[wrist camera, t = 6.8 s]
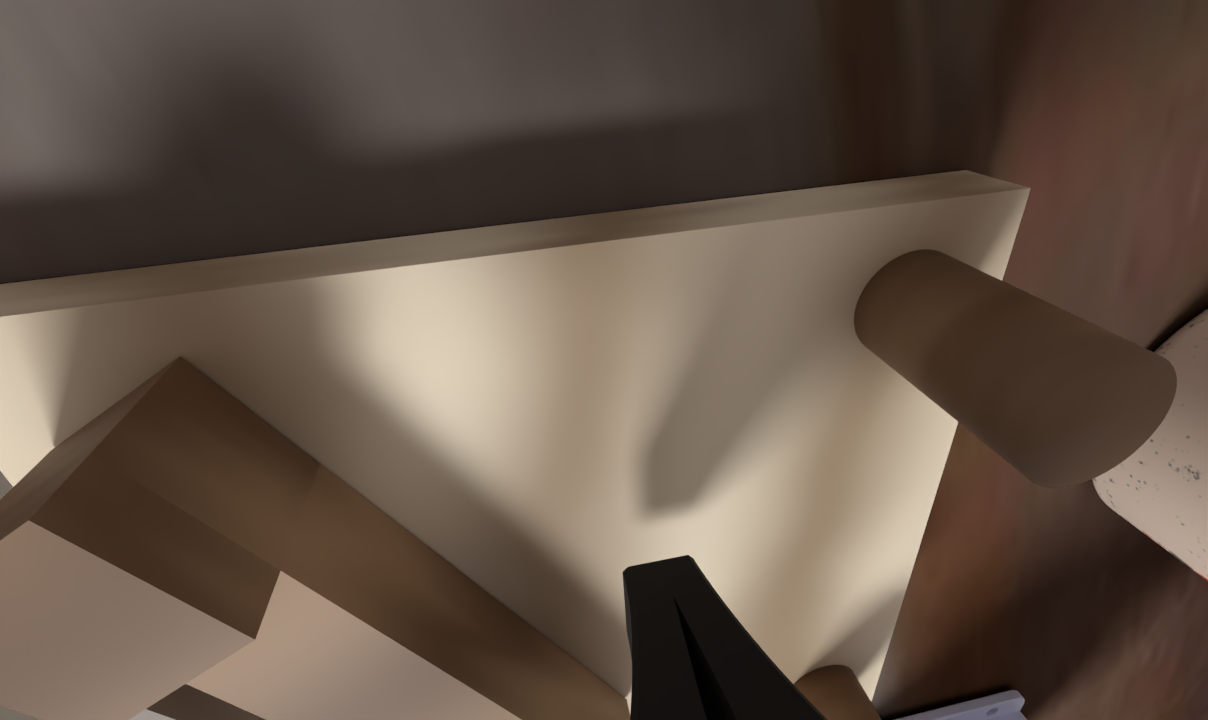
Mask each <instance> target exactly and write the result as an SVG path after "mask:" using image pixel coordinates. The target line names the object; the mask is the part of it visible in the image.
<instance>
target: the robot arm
mask: <svg viewBox="0 0 1208 720" xmlns="http://www.w3.org/2000/svg"><path fill="white" fill-rule="evenodd" d="M623 586H624V600H625V615H626V629H627V635H628V640H629V646H630V652H631V659H632V694H631V712H630V720H827V719H826V718H825V717H824V716H823V715H822V714H821V713H820V712H819V711H818V710H817V709H816V707H815V706H814V705H813V704H812V703H811V702H810V701H809V700H808V699H807V698H806V697H805V696H804V695H803V694H802V693H801V692H800V691H799V690H798V689H797V687H796V686H795V685H794V684H793V683H792V682H791V681H790V680H789V679H788V678H787V677H786V676H785V675H784V673H783V672H782V671H781V670H780V669H779V668H778V667H777V666H776V664H775V663H774V662H773V661H772V660H771V659H770V658H769V657H768V655H767V654H766V653H765V652H764V651H763V649H762V648H761V647H760V646H759V645H758V643H757V642H756V641H755V640H754V639H753V638H752V636H751V635H750V634H749V633H748V632H747V630H746V629H745V628H744V627H743V626H742V624H741V623H740V622H739V621H738V619H737V618H736V617H735V616H734V614H733V613H732V612H731V610H730V609H729V608H728V606H727V605H726V604H725V603H724V601H723V600H722V599H721V597H720V596H719V595H718V593H717V592H716V591H715V589H714V588H713V586H712V585H711V584H710V582H709V581H708V579H707V578H706V577H705V575H704V574H703V572H702V571H701V569H700V568H699V566H698V565H697V563H696V562H695V560H694V558H692V557H691V556H689V555H685V556H680V557H675V558H670V559H664V560H659V561H654V562H649V563H644V564H639V565H634V566H629V567H627V568H626V569H625V570H624V571H623ZM1024 702H1025V699H1024V698H1023V697H1022V696H1021V694H1020V693H1019V692H1018V691H1016V690H1009V691H1005V692H1001V693H997V694H993V695H989V696H985V697H981V698H977V699H973V700H969V701H965V702H961V703H957V704H953V705H950V706H946V707H942V708H938V709H934V710H930V711H926V712H922V713H918V714H914V715H910V716H906V717H902V718H898V719H894V720H1027V719H1026V718H1025V717H1024V715H1023V714H1022V713H1021V712H1020V710H1021V708H1022V706H1023V704H1024Z"/></svg>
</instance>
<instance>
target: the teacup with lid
mask: <svg viewBox="0 0 1208 720" xmlns="http://www.w3.org/2000/svg"><path fill="white" fill-rule="evenodd" d="M1154 353H1156V354H1158V355H1160V356H1162V357H1164V358H1166V359H1167V360H1168V361H1169V362H1170V363H1171V364H1172V365H1173V367H1174V369H1175V372H1176V376H1177V388H1176V393H1175V397H1174V400H1173V403H1172V405H1171V407H1170V409H1169V411H1168V413H1167V415H1166V416H1165V418H1164V420H1163V421H1162V423H1161V424H1160V425H1159V427H1158V428H1157V429H1156V431H1155V432H1154V433H1153V434H1152V435H1151V437H1150V438H1149V439H1148V440H1147V441H1146V442H1145V443H1144V444H1143V445H1142V446H1141V447H1140V448H1139V449H1138V450H1136V451H1135V452H1134V453H1133V454H1132V455H1131V456H1129V457H1128V458H1127V459H1126V460H1124V461H1123V462H1121V463H1120V464H1118V465H1117V466H1116V467H1114V468H1112V469H1111V470H1109V471H1107V472H1106V473H1104V474H1102V475H1100V476H1098V477H1096V478H1093V479H1092V481H1093V484H1094V487H1095V489H1096V491H1097V493H1098V495H1099V496H1100V498H1101V499H1102V500H1103V501H1104V503H1105V504H1106V505H1108V506H1109V507H1110V508H1111V509H1112V510H1114V511H1115V512H1116V513H1118V514H1119V515H1120V516H1122V517H1123V518H1124V519H1126V520H1127V521H1128V522H1130V523H1131V524H1132V525H1134V526H1135V527H1136V528H1138V529H1139V530H1140V531H1142V532H1143V533H1144V534H1146V535H1147V536H1148V537H1150V538H1151V539H1152V540H1154V541H1155V542H1156V543H1158V544H1159V545H1160V546H1162V547H1163V548H1164V549H1166V550H1167V551H1168V552H1170V553H1171V554H1172V555H1174V556H1175V557H1176V558H1178V559H1179V560H1180V561H1182V562H1183V563H1184V564H1186V565H1187V566H1188V567H1190V568H1191V569H1192V570H1194V571H1195V572H1196V573H1198V574H1199V575H1200V576H1202V577H1203V578H1204V579H1206V580H1207V581H1208V309H1206V310H1205V311H1203V312H1202V313H1201V314H1199V315H1198V316H1196V317H1195V318H1193V319H1192V320H1191V321H1189V322H1188V323H1187V324H1186V325H1184V326H1183V327H1182V328H1180V329H1179V330H1178V331H1177V332H1176V333H1174V334H1173V335H1172V336H1171V337H1170V338H1169V339H1167V340H1166V341H1165V342H1164V343H1163V344H1162V345H1161V346H1160V347H1159V348H1158V349H1157V350H1156V351H1155V352H1154Z"/></svg>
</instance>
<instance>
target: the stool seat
mask: <svg viewBox="0 0 1208 720" xmlns="http://www.w3.org/2000/svg"><path fill="white" fill-rule="evenodd" d="M1030 189H1031V188H1029V187H1025V186H1021V185H1018V184H1014V183H1011V182H1007V181H1004V180H1000V179H997V178H993V177H989V176H986V175H982V174H979V173H975V172H972V171H968V170H962V171H954V172H945V173H937V174H928V175H920V176H911V177H903V178H894V179H886V180H877V181H869V182H860V183H852V184H844V185H835V186H827V187H818V188H810V189H801V190H793V191H784V192H776V193H767V194H759V195H751V196H742V197H734V198H725V199H717V200H708V201H700V202H691V203H683V204H674V205H666V206H658V207H649V208H641V209H632V210H624V211H615V212H607V213H598V214H590V215H581V216H573V217H564V218H556V219H548V220H539V221H531V222H522V223H514V224H505V225H497V226H488V227H480V228H471V229H463V230H455V231H446V232H438V233H429V234H421V235H412V236H404V237H395V238H387V239H378V240H370V241H362V242H353V243H345V244H336V245H328V246H319V247H311V248H302V249H294V250H285V251H277V252H269V253H260V254H252V255H243V256H235V257H226V258H218V259H209V260H201V261H192V262H184V263H175V264H167V265H159V266H150V267H142V268H133V269H125V270H116V271H108V272H99V273H91V274H82V275H74V276H66V277H57V278H49V279H40V280H32V281H23V282H15V283H6V284H0V471H1V472H2V473H3V475H4V476H5V477H6V478H7V480H8V481H9V482H10V483H11V485H12V486H13V487H14V486H15V485H16V484H17V483H18V482H19V481H20V480H21V479H22V478H23V477H24V476H25V475H26V474H27V473H28V472H29V471H30V470H31V469H33V468H34V467H35V466H36V465H37V464H38V463H39V462H40V461H41V460H42V459H43V458H44V457H45V456H46V455H47V454H48V453H49V452H50V451H51V450H52V449H53V448H55V447H56V446H58V445H59V444H60V443H62V442H63V441H64V440H66V439H67V438H69V437H70V436H71V435H73V434H74V433H75V432H77V431H78V430H79V429H81V428H82V427H84V426H85V425H86V424H88V423H89V422H90V421H92V420H93V419H95V418H96V417H97V416H99V415H100V414H101V413H103V412H104V411H106V410H107V409H108V408H110V407H111V406H112V405H114V404H115V403H116V402H118V401H119V400H121V399H122V398H123V397H125V396H126V395H127V394H129V393H130V392H132V391H133V390H134V389H136V388H137V387H138V386H140V385H141V384H142V383H144V382H145V381H147V380H148V379H149V378H151V377H152V376H153V375H155V374H156V373H158V372H159V371H160V370H162V369H163V368H164V367H166V366H167V365H168V364H170V363H171V362H173V361H174V360H175V359H177V358H178V357H179V356H181V357H182V358H183V359H185V360H186V361H187V362H189V363H190V364H191V365H193V366H194V367H195V368H196V369H198V370H199V371H200V372H202V373H203V374H204V375H206V376H207V377H208V378H209V379H211V380H212V381H213V382H215V383H216V384H217V385H219V386H220V387H221V388H222V389H224V390H225V391H226V392H228V393H229V394H230V395H232V396H233V397H234V398H235V399H237V400H238V401H239V402H241V403H242V404H243V405H245V406H246V407H247V408H248V409H250V410H251V411H252V412H254V413H255V414H256V415H258V416H259V417H260V418H261V419H263V420H264V421H265V422H267V423H268V424H269V425H271V426H272V427H273V428H274V429H276V430H277V431H278V432H280V433H281V434H282V435H284V436H285V437H286V438H287V439H289V440H290V441H291V442H293V443H294V444H295V445H297V446H298V447H299V448H300V449H302V450H303V451H304V452H306V453H307V454H308V455H310V456H311V457H312V458H313V459H315V460H316V461H317V462H319V463H320V464H321V465H323V466H324V467H325V468H326V469H328V470H329V471H330V472H332V473H333V474H334V475H336V476H337V477H338V478H339V479H341V480H342V481H343V482H345V483H346V484H347V485H349V486H350V487H351V488H353V489H354V490H355V491H356V492H358V493H359V494H360V495H362V496H363V497H364V498H366V499H367V500H368V501H369V502H371V503H372V504H373V505H375V506H376V507H377V508H379V509H380V510H381V511H382V512H384V513H385V514H386V515H388V516H389V517H390V518H392V519H393V520H394V521H395V522H397V523H398V524H399V525H401V526H402V527H403V528H405V529H406V530H407V531H408V532H410V533H411V534H412V535H414V536H415V537H416V538H418V539H419V540H420V541H421V542H423V543H424V544H425V545H427V546H428V547H429V548H431V549H432V550H433V551H434V552H436V553H437V554H438V555H440V556H441V557H442V558H444V559H445V560H446V561H447V562H449V563H450V564H451V565H453V566H454V567H455V568H457V569H458V570H459V571H460V572H462V573H463V574H464V575H466V576H467V577H468V578H470V579H471V580H472V581H473V582H475V583H476V584H477V585H479V586H480V587H481V588H483V589H484V590H485V591H486V592H488V593H489V594H490V595H492V596H493V597H494V598H496V599H497V600H498V601H499V602H501V603H502V604H503V605H505V606H506V607H507V608H509V609H510V610H511V611H513V612H514V613H515V614H516V615H518V616H519V617H520V618H522V619H523V620H524V621H526V622H527V623H528V624H529V625H531V626H532V627H533V628H535V629H536V630H537V631H539V632H540V633H541V634H542V635H544V636H545V637H546V638H548V639H549V640H550V641H552V642H553V643H554V644H555V645H557V646H558V647H559V648H561V649H562V650H563V651H565V652H566V653H567V654H568V655H570V656H571V657H572V658H574V659H575V660H576V661H578V662H579V663H580V664H581V665H583V666H584V667H585V668H587V669H588V670H589V671H591V672H592V673H593V674H594V675H596V676H597V677H598V678H600V679H601V680H602V681H604V682H605V683H606V684H607V685H609V686H610V687H611V688H613V689H614V690H615V691H617V692H618V693H619V694H620V695H622V696H623V697H624V698H626V699H627V703H628V708H629V712H631V694H632V659H631V652H630V646H629V640H628V635H627V629H626V615H625V600H624V586H623V571H624V570H625V569H626V568H627V567H629V566H634V565H639V564H644V563H649V562H654V561H659V560H664V559H670V558H675V557H680V556H685V555H689V556H691V557H692V558H694V560H695V562H696V563H697V565H698V566H699V568H700V569H701V571H702V572H703V574H704V575H705V577H706V578H707V579H708V581H709V582H710V584H711V585H712V586H713V588H714V589H715V591H716V592H717V593H718V595H719V596H720V597H721V599H722V600H723V601H724V603H725V604H726V605H727V606H728V608H729V609H730V610H731V612H732V613H733V614H734V616H735V617H736V618H737V619H738V621H739V622H740V623H741V624H742V626H743V627H744V628H745V629H746V630H747V632H748V633H749V634H750V635H751V636H752V638H753V639H754V640H755V641H756V642H757V643H758V645H759V646H760V647H761V648H762V649H763V651H764V652H765V653H766V654H767V655H768V657H769V658H770V659H771V660H772V661H773V662H774V663H775V664H776V666H777V667H778V668H779V669H780V670H781V671H782V672H783V673H784V675H785V676H786V677H787V678H788V679H789V680H790V681H791V682H792V683H793V684H794V685H795V686H796V687H797V689H798V690H799V691H800V692H801V693H802V694H803V695H804V696H805V697H806V698H807V699H808V700H809V701H810V702H811V703H812V704H813V705H814V706H815V707H816V709H817V710H818V711H819V712H820V713H821V714H822V715H823V716H824V717H825V718H826V719H827V720H881V718H880V716H879V714H878V713H877V711H876V709H875V708H874V706H873V704H872V703H871V701H872V698H873V695H874V692H875V688H876V685H877V682H878V679H879V676H880V672H881V669H882V666H883V663H884V659H885V656H886V653H887V650H888V647H889V643H890V640H891V637H892V634H893V630H894V627H895V624H896V621H897V618H898V614H899V611H900V608H901V605H902V601H903V598H904V595H905V592H906V589H907V585H908V582H909V579H910V576H911V572H912V569H913V566H914V563H915V560H916V556H917V553H918V550H919V547H920V543H921V540H922V537H923V534H924V531H925V527H926V524H927V521H928V518H929V514H930V511H931V508H932V505H933V502H934V498H935V495H936V492H937V489H938V485H939V482H940V479H941V476H942V473H943V469H944V466H945V463H946V460H947V456H948V453H949V450H950V447H951V444H952V440H953V437H954V434H955V431H956V427H957V424H958V422H959V423H960V424H962V425H963V426H964V427H965V428H967V429H968V430H969V431H970V432H971V433H973V434H974V435H975V436H976V437H978V438H979V439H980V440H981V441H983V442H984V443H985V444H986V445H988V446H989V447H990V448H991V449H992V450H994V451H995V452H996V453H997V454H999V455H1000V456H1001V457H1002V458H1004V459H1005V460H1006V461H1007V462H1009V463H1010V464H1011V465H1012V466H1013V467H1015V468H1016V469H1017V470H1018V471H1020V472H1021V473H1022V474H1023V475H1025V476H1026V477H1027V478H1028V479H1030V480H1031V481H1032V482H1033V483H1035V484H1037V485H1039V486H1043V487H1049V488H1062V487H1069V486H1073V485H1077V484H1080V483H1083V482H1086V481H1089V480H1091V479H1093V478H1096V477H1098V476H1100V475H1102V474H1104V473H1106V472H1107V471H1109V470H1111V469H1112V468H1114V467H1116V466H1117V465H1118V464H1120V463H1121V462H1123V461H1124V460H1126V459H1127V458H1128V457H1129V456H1131V455H1132V454H1133V453H1134V452H1135V451H1136V450H1138V449H1139V448H1140V447H1141V446H1142V445H1143V444H1144V443H1145V442H1146V441H1147V440H1148V439H1149V438H1150V437H1151V435H1152V434H1153V433H1154V432H1155V431H1156V429H1157V428H1158V427H1159V425H1160V424H1161V423H1162V421H1163V420H1164V418H1165V416H1166V415H1167V413H1168V411H1169V409H1170V407H1171V405H1172V403H1173V400H1174V397H1175V393H1176V388H1177V376H1176V372H1175V369H1174V367H1173V365H1172V364H1171V363H1170V362H1169V361H1168V360H1167V359H1166V358H1164V357H1162V356H1160V355H1158V354H1156V353H1154V352H1152V351H1149V350H1147V349H1145V348H1143V347H1141V346H1139V345H1137V344H1135V343H1133V342H1130V341H1128V340H1126V339H1124V338H1122V337H1120V336H1118V335H1116V334H1113V333H1111V332H1109V331H1107V330H1105V329H1103V328H1101V327H1099V326H1097V325H1094V324H1092V323H1090V322H1088V321H1086V320H1084V319H1082V318H1080V317H1078V316H1075V315H1073V314H1071V313H1069V312H1067V311H1065V310H1063V309H1061V308H1059V307H1056V306H1054V305H1052V304H1050V303H1048V302H1046V301H1044V300H1042V299H1039V298H1037V297H1035V296H1033V295H1031V294H1029V293H1027V292H1025V291H1023V290H1020V289H1018V288H1016V287H1014V286H1012V285H1010V284H1008V283H1006V282H1004V281H1002V279H1003V276H1004V273H1005V270H1006V266H1007V263H1008V260H1009V257H1010V253H1011V250H1012V247H1013V244H1014V241H1015V237H1016V234H1017V231H1018V228H1019V225H1020V221H1021V218H1022V215H1023V212H1024V208H1025V205H1026V202H1027V199H1028V196H1029V192H1030ZM129 720H266V719H263V718H261V717H259V716H257V715H254V714H252V713H250V712H248V711H245V710H243V709H241V708H239V707H236V706H234V705H232V704H230V703H228V702H225V701H223V700H221V699H219V698H216V697H214V696H212V695H210V694H207V693H205V692H203V691H201V690H198V689H196V688H194V687H192V686H189V685H187V684H185V685H183V686H181V687H180V688H178V689H177V690H175V691H173V692H172V693H170V694H169V695H167V696H166V697H164V698H162V699H161V700H159V701H158V702H156V703H155V704H153V705H151V706H150V707H148V708H147V709H145V710H143V711H142V712H140V713H139V714H137V715H136V716H134V717H132V718H131V719H129Z"/></svg>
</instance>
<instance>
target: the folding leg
mask: <svg viewBox="0 0 1208 720" xmlns="http://www.w3.org/2000/svg"><path fill="white" fill-rule="evenodd" d="M185 684H187V685H189V686H192V687H194V688H196V689H198V690H201V691H203V692H205V693H207V694H210V695H212V696H214V697H216V698H219V699H221V700H223V701H225V702H228V703H230V704H232V705H234V706H236V707H239V708H241V709H243V710H245V711H248V712H250V713H252V714H254V715H257V716H259V717H261V718H263V719H266V720H630V712H629V708H628V703H627V699H626V698H624V697H623V696H622V695H620V694H619V693H618V692H617V691H615V690H614V689H613V688H611V687H610V686H609V685H607V684H606V683H605V682H604V681H602V680H601V679H600V678H598V677H597V676H596V675H594V674H593V673H592V672H591V671H589V670H588V669H587V668H585V667H584V666H583V665H581V664H580V663H579V662H578V661H576V660H575V659H574V658H572V657H571V656H570V655H568V654H567V653H566V652H565V651H563V650H562V649H561V648H559V647H558V646H557V645H555V644H554V643H553V642H552V641H550V640H549V639H548V638H546V637H545V636H544V635H542V634H541V633H540V632H539V631H537V630H536V629H535V628H533V627H532V626H531V625H529V624H528V623H527V622H526V621H524V620H523V619H522V618H520V617H519V616H518V615H516V614H515V613H514V612H513V611H511V610H510V609H509V608H507V607H506V606H505V605H503V604H502V603H501V602H499V601H498V600H497V599H496V598H494V597H493V596H492V595H490V594H489V593H488V592H486V591H485V590H484V589H483V588H481V587H480V586H479V585H477V584H476V583H475V582H473V581H472V580H471V579H470V578H468V577H467V576H466V575H464V574H463V573H462V572H460V571H459V570H458V569H457V568H455V567H454V566H453V565H451V564H450V563H449V562H447V561H446V560H445V559H444V558H442V557H441V556H440V555H438V554H437V553H436V552H434V551H433V550H432V549H431V548H429V547H428V546H427V545H425V544H424V543H423V542H421V541H420V540H419V539H418V538H416V537H415V536H414V535H412V534H411V533H410V532H408V531H407V530H406V529H405V528H403V527H402V526H401V525H399V524H398V523H397V522H395V521H394V520H393V519H392V518H390V517H389V516H388V515H386V514H385V513H384V512H382V511H381V510H380V509H379V508H377V507H376V506H375V505H373V504H372V503H371V502H369V501H368V500H367V499H366V498H364V497H363V496H362V495H360V494H359V493H358V492H356V491H355V490H354V489H353V488H351V487H350V486H349V485H347V484H346V483H345V482H343V481H342V480H341V479H339V478H338V477H337V476H336V475H334V474H333V473H332V472H330V471H329V470H328V469H326V468H325V467H324V466H323V465H321V464H320V463H319V462H317V461H316V460H315V459H313V458H312V457H311V456H310V455H308V454H307V453H306V452H304V451H303V450H302V449H300V448H299V447H298V446H297V445H295V444H294V443H293V442H291V441H290V440H289V439H287V438H286V437H285V436H284V435H282V434H281V433H280V432H278V431H277V430H276V429H274V428H273V427H272V426H271V425H269V424H268V423H267V422H265V421H264V420H263V419H261V418H260V417H259V416H258V415H256V414H255V413H254V412H252V411H251V410H250V409H248V408H247V407H246V406H245V405H243V404H242V403H241V402H239V401H238V400H237V399H235V398H234V397H233V396H232V395H230V394H229V393H228V392H226V391H225V390H224V389H222V388H221V387H220V386H219V385H217V384H216V383H215V382H213V381H212V380H211V379H209V378H208V377H207V376H206V375H204V374H203V373H202V372H200V371H199V370H198V369H196V368H195V367H194V366H193V365H191V364H190V363H189V362H187V361H186V360H185V359H183V358H182V357H181V356H179V357H178V358H177V359H175V360H174V361H173V362H171V363H170V364H168V365H167V366H166V367H164V368H163V369H162V370H160V371H159V372H158V373H156V374H155V375H153V376H152V377H151V378H149V379H148V380H147V381H145V382H144V383H142V384H141V385H140V386H138V387H137V388H136V389H134V390H133V391H132V392H130V393H129V394H127V395H126V396H125V397H123V398H122V399H121V400H119V401H118V402H116V403H115V404H114V405H112V406H111V407H110V408H108V409H107V410H106V411H104V412H103V413H101V414H100V415H99V416H97V417H96V418H95V419H93V420H92V421H90V422H89V423H88V424H86V425H85V426H84V427H82V428H81V429H79V430H78V431H77V432H75V433H74V434H73V435H71V436H70V437H69V438H67V439H66V440H64V441H63V442H62V443H60V444H59V445H58V446H56V447H55V448H53V449H52V450H51V451H50V452H49V453H48V454H47V455H46V456H45V457H44V458H43V459H42V460H41V461H40V462H39V463H38V464H37V465H36V466H35V467H34V468H33V469H31V470H30V471H29V472H28V473H27V474H26V475H25V476H24V477H23V478H22V479H21V480H20V481H19V482H18V483H17V484H16V485H15V486H14V487H13V488H12V489H11V490H10V491H9V492H8V493H7V494H6V495H5V496H4V497H3V498H2V499H1V500H0V705H1V706H3V707H6V708H9V709H12V710H15V711H17V712H20V713H23V714H26V715H28V716H31V717H34V718H37V719H40V720H129V719H131V718H132V717H134V716H136V715H137V714H139V713H140V712H142V711H143V710H145V709H147V708H148V707H150V706H151V705H153V704H155V703H156V702H158V701H159V700H161V699H162V698H164V697H166V696H167V695H169V694H170V693H172V692H173V691H175V690H177V689H178V688H180V687H181V686H183V685H185Z"/></svg>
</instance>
